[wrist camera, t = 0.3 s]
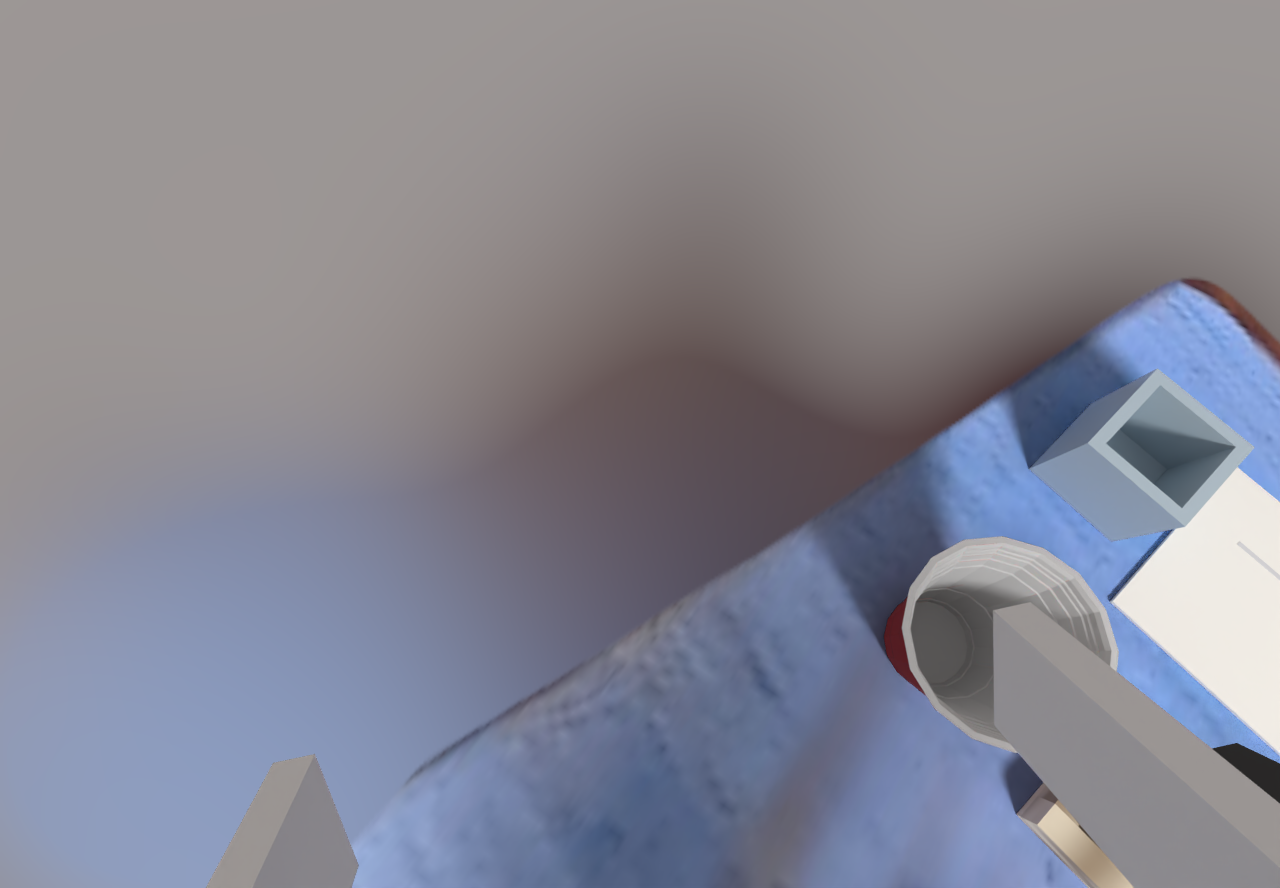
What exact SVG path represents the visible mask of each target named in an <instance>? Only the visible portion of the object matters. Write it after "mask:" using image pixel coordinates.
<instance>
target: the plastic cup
mask: <svg viewBox="0 0 1280 888" xmlns="http://www.w3.org/2000/svg"><path fill="white" fill-rule="evenodd" d="M1029 602H1031V603H1032V604H1033V605H1035V606H1036V607H1037V608H1038V609H1040V610H1041V611H1042V612H1043V613H1045V614H1046V615H1047V616H1048V617H1050V618H1051V619H1052V620H1053V621H1054V622H1056V623H1057V624H1058V625H1059V626H1061V627H1062V628H1063V629H1064V630H1066V631H1067V632H1068V633H1069V634H1071V635H1072V636H1073V637H1074V638H1076V639H1077V640H1078V641H1079V642H1080V643H1082V644H1083V645H1084V646H1085V647H1087V648H1088V649H1089V650H1090V651H1092V652H1093V653H1094V654H1095V655H1097V656H1098V657H1099V658H1100V659H1101V660H1103V661H1104V662H1105V663H1106V664H1108V665H1109V666H1110V667H1111V668H1113V669H1114V670H1115V671H1116V672H1117V663H1118V653H1119V652H1118V648H1117V645H1116V642H1115V638H1114V635H1113V632H1112V628H1111V625H1110V622H1109V618H1108V615H1107V612H1106V609H1105V608H1104V606H1103V605H1102V604H1101V602H1100V601H1099V600H1098V598H1097V597H1096V596H1095V594H1094V593H1093V591H1092V590H1091V589H1090V587H1089V586H1088V585H1087V583H1086V582H1085V581H1084V579H1083V578H1082V577H1081V575H1080V574H1079V573H1078V572H1076V571H1075V570H1074V569H1072V568H1071V567H1069V566H1068V565H1067V564H1065V563H1064V562H1062V561H1061V560H1059V559H1058V558H1057V557H1055V556H1054V555H1052V554H1051V553H1050V552H1048V551H1047V550H1045V549H1044V548H1041V547H1038V546H1034V545H1031V544H1027V543H1024V542H1021V541H1017V540H1014V539H1010V538H1007V537H1003V536H1002V537H991V538H979V539H967V540H963V541H961V542H959V543H957V544H955V545H954V546H952V547H950V548H948V549H946V550H944V551H943V552H941V553H939V554H937V555H935V556H934V557H932V558H931V559H930V560H929V562H928V563H927V564H926V566H925V567H924V569H923V570H922V571H921V573H920V574H919V575H918V577H917V578H916V580H915V581H914V582H913V584H912V585H911V587H910V588H909V593H908V597H907V598H906V599H905V600H904V602H902V603H901V604H899V605H898V606H897V607H896V609H895V610H894V611H893V613H892V614H891V616H890V617H889V618H888V621H887V625H886V630H885V634H884V641H885V647H886V652H887V656H888V658H889V659H890V661H891V663H892V664H893V666H894V668H895V670H896V671H897V672H898V673H899V674H900V675H901V676H903V677H904V678H905V679H906V680H907V681H908V682H910V683H911V684H912V685H913V686H914V687H916V688H917V689H918V690H919V691H921V692H922V693H923V694H924V695H926V696H927V698H928V699H929V701H930V703H931V704H932V706H933V707H934V709H936V710H937V711H938V712H939V713H941V714H942V715H943V716H944V717H946V718H947V719H948V720H949V721H951V722H952V723H953V724H954V725H956V726H957V727H958V728H959V729H961V730H962V731H963V732H964V733H966V734H967V735H968V736H969V737H970V738H972V739H975V740H978V741H981V742H984V743H987V744H990V745H993V746H996V747H999V748H1002V749H1005V750H1008V751H1011V752H1014V753H1018V752H1017V751H1016V750H1015V749H1014V748H1013V746H1012V745H1011V744H1010V743H1009V742H1008V741H1007V739H1006V738H1005V737H1004V736H1003V735H1002V734H1001V732H1000V731H999V730H998V729H997V728H996V727H995V725H994V659H993V610H996V609H1001V608H1006V607H1010V606H1015V605H1020V604H1025V603H1029Z"/></svg>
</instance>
